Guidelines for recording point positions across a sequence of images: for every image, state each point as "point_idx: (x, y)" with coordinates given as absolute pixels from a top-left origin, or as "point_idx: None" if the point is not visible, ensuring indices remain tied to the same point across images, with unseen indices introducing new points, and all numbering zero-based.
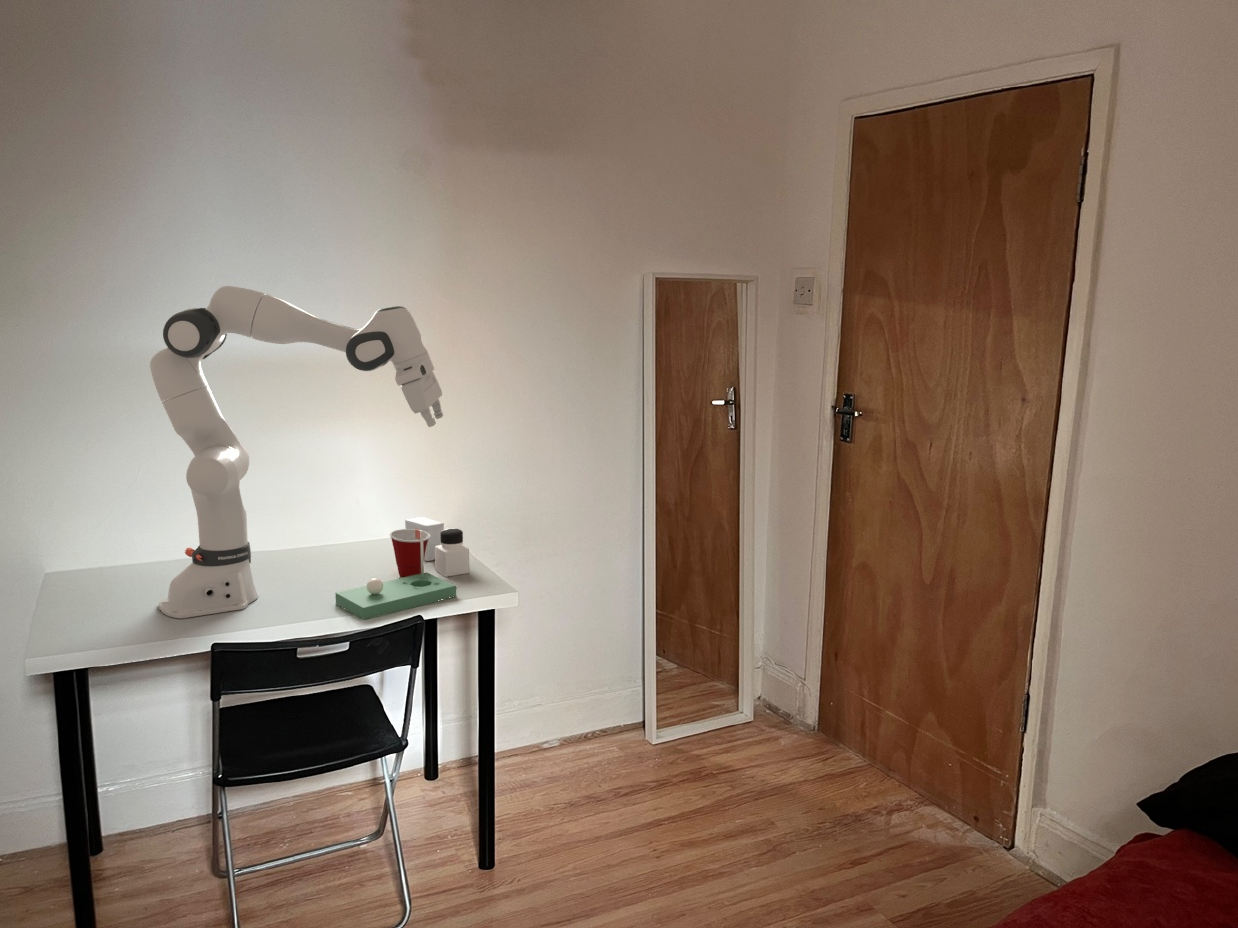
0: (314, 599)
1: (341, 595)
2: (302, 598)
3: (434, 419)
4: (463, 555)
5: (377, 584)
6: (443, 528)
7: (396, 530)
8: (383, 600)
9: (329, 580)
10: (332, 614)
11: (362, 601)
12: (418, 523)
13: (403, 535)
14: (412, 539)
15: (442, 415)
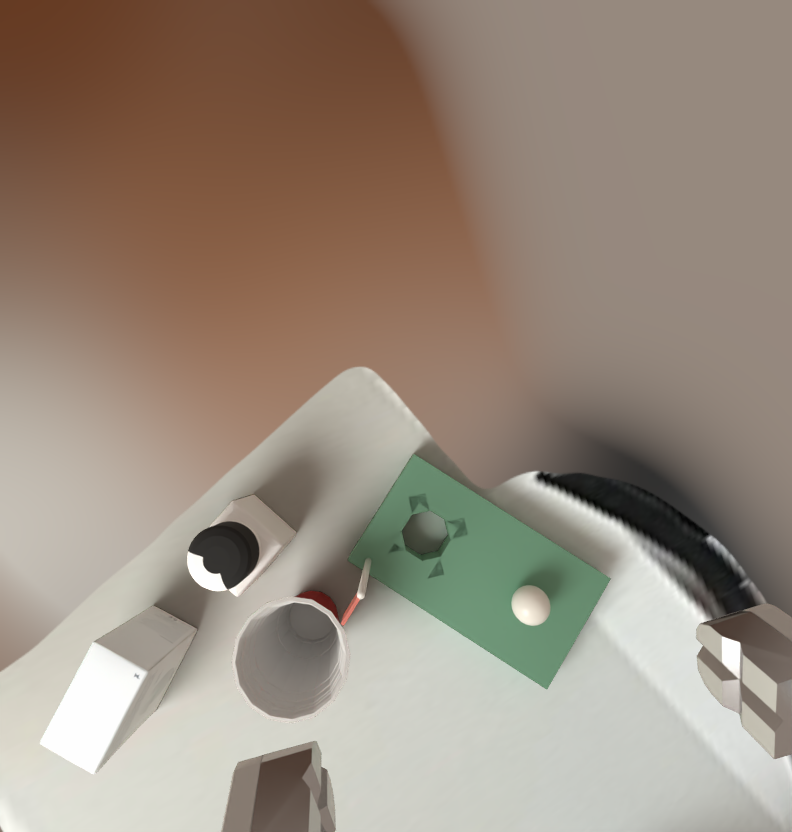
0: (526, 738)
1: (559, 665)
2: (529, 767)
3: (752, 656)
4: (250, 508)
5: (544, 594)
6: (106, 635)
7: (272, 716)
8: (556, 560)
9: (401, 780)
10: (593, 648)
11: (576, 600)
12: (126, 711)
13: (261, 691)
14: (254, 661)
15: (285, 755)
